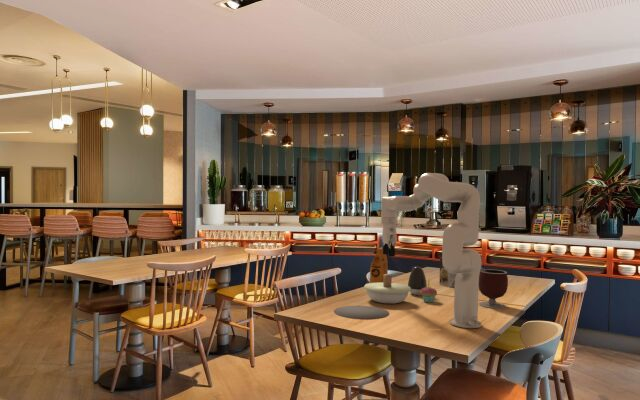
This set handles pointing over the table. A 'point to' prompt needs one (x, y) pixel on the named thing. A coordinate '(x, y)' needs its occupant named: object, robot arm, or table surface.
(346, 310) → the mat
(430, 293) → the cupcake
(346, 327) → the table surface
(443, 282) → the coffee box
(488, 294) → the mate gourd
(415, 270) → the smart speaker
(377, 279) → the coffee package
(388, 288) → the lid
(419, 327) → the table surface
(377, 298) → the serving bowl
